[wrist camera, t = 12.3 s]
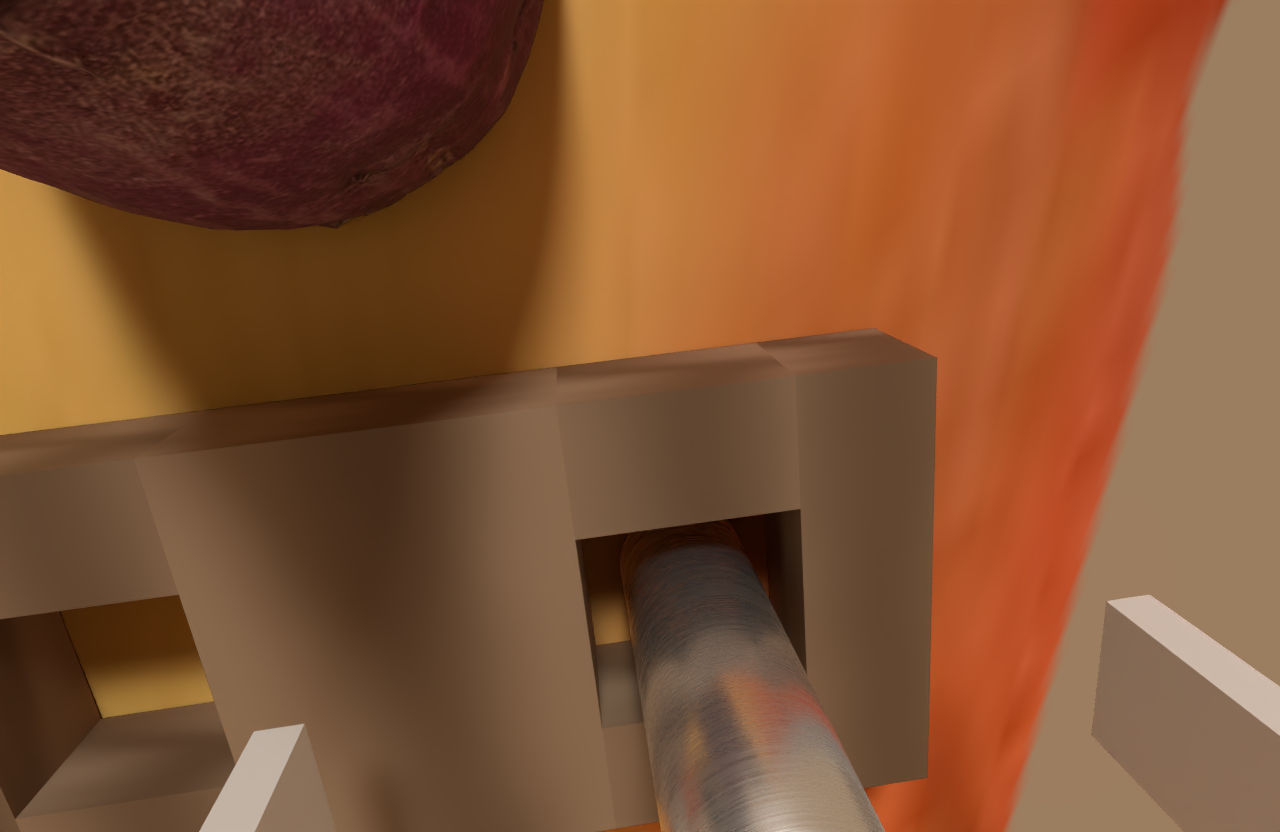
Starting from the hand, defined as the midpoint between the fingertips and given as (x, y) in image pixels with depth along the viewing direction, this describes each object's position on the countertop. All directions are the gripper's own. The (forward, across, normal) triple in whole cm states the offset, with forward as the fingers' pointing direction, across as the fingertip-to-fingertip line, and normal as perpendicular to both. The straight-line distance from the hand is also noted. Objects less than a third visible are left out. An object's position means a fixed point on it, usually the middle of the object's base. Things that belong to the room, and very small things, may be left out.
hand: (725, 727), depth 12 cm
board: (+6, -6, 0) cm, 9 cm away
